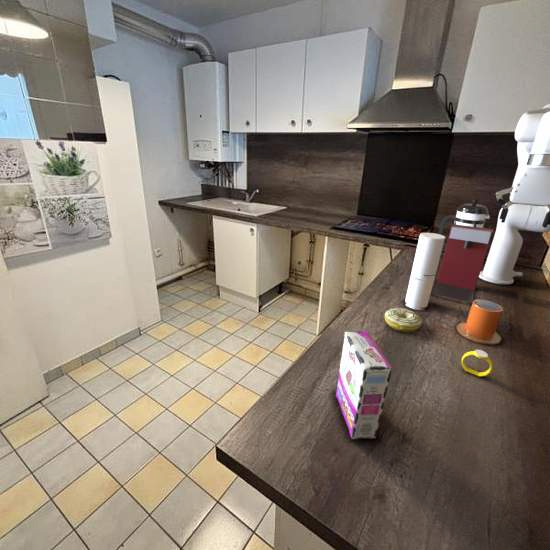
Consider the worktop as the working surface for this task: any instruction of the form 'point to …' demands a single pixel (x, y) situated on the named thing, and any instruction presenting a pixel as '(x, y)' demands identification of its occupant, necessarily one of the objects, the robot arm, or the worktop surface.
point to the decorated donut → (403, 320)
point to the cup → (483, 319)
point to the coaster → (492, 341)
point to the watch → (480, 355)
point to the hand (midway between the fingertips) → (522, 224)
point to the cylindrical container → (424, 270)
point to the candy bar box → (362, 384)
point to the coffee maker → (462, 262)
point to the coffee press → (467, 216)
